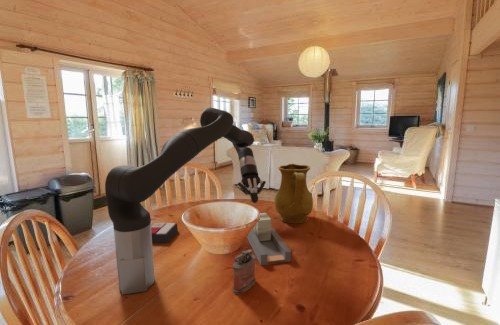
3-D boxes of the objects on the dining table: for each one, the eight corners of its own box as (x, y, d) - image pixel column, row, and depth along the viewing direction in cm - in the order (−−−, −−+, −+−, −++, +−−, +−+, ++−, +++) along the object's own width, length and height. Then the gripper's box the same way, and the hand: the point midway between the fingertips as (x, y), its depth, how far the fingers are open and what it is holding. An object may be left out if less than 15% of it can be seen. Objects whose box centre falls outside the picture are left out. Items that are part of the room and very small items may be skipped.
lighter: (249, 277, 78) (248, 244, 77) (258, 281, 76) (258, 248, 75) (229, 290, 72) (229, 256, 71) (239, 296, 70) (238, 260, 68)
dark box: (142, 222, 111) (177, 221, 110) (143, 231, 112) (178, 231, 110) (127, 233, 101) (166, 232, 99) (129, 244, 101) (167, 243, 100)
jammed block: (271, 240, 99) (271, 219, 97) (257, 241, 98) (257, 220, 96) (265, 232, 105) (265, 212, 104) (253, 233, 104) (253, 213, 103)
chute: (290, 261, 87) (291, 251, 86) (260, 265, 84) (260, 255, 84) (266, 227, 113) (266, 219, 113) (243, 229, 111) (243, 221, 111)
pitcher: (316, 213, 127) (316, 162, 122) (307, 230, 111) (306, 171, 106) (281, 209, 135) (280, 160, 130) (268, 225, 118) (266, 169, 113)
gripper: (261, 172, 127) (268, 205, 117) (233, 173, 124) (238, 207, 114) (264, 162, 121) (272, 196, 111) (234, 164, 118) (240, 199, 108)
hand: (255, 202), depth 112 cm, fingers closed
